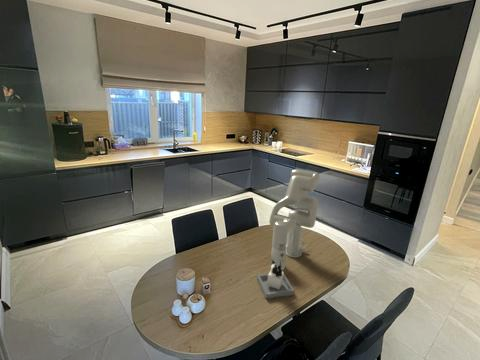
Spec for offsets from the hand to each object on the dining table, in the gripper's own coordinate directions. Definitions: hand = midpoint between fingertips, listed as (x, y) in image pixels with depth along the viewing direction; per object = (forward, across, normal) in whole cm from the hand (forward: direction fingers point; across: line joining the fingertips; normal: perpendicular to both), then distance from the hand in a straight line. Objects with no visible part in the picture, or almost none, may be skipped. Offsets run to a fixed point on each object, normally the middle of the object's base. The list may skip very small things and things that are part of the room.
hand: (276, 271), depth 142 cm
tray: (+10, 0, 0) cm, 10 cm away
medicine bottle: (+8, 0, 0) cm, 8 cm away
